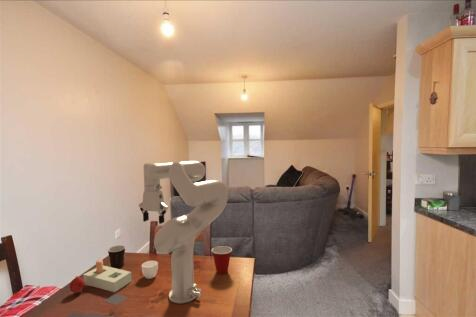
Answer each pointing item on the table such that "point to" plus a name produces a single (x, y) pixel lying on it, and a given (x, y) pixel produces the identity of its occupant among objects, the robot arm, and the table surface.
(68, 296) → the table surface
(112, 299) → the mat
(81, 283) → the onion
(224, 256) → the plastic cup
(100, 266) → the peg
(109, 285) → the socket block
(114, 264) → the coffee mug
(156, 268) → the cup
